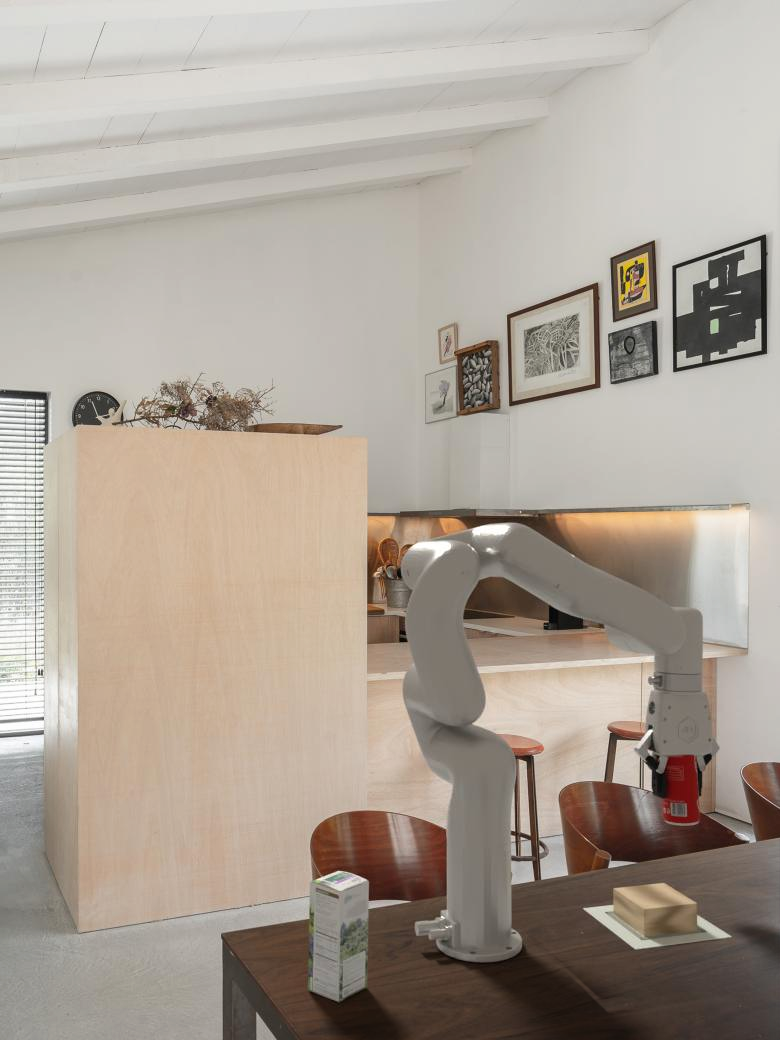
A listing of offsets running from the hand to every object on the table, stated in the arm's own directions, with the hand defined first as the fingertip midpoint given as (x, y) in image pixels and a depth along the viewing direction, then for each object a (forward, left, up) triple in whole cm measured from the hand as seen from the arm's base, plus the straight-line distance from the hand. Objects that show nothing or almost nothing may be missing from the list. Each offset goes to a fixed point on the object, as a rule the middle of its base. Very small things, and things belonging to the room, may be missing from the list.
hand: (676, 794), depth 151 cm
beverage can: (0, 0, -5) cm, 5 cm away
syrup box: (-59, -11, -19) cm, 63 cm away
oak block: (-8, -5, -18) cm, 20 cm away
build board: (-8, -5, -19) cm, 21 cm away
